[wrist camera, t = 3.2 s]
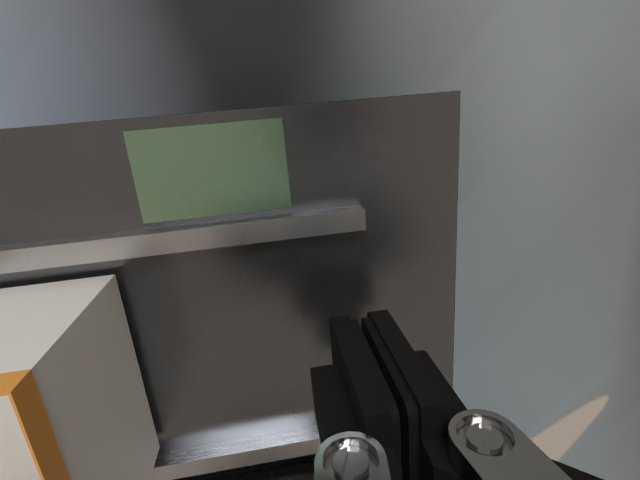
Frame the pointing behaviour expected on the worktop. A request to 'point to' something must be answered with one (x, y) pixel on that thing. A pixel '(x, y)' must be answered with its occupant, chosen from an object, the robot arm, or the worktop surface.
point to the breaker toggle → (71, 385)
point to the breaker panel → (244, 254)
